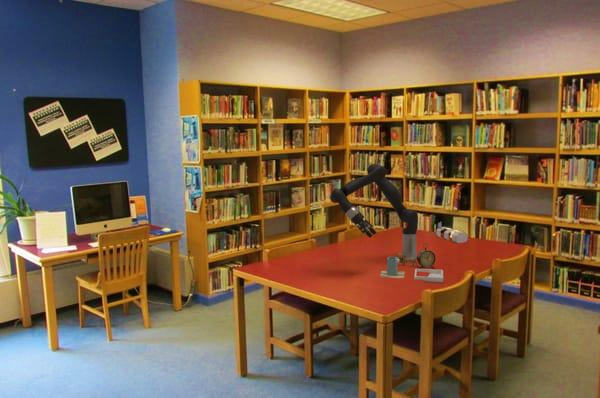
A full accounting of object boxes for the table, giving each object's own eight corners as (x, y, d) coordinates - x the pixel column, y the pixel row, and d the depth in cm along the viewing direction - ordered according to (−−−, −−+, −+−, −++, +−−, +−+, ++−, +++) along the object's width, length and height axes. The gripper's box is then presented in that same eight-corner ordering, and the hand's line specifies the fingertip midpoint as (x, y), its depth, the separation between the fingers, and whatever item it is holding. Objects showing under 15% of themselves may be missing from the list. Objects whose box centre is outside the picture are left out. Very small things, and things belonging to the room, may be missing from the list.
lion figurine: (395, 268, 314) (395, 254, 313) (397, 265, 319) (397, 252, 317) (418, 269, 308) (418, 255, 307) (420, 267, 313) (420, 253, 312)
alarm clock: (420, 270, 306) (420, 245, 304) (415, 268, 312) (415, 243, 309) (435, 268, 309) (435, 243, 307) (431, 266, 314) (431, 241, 312)
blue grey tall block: (389, 272, 299) (389, 256, 298) (400, 273, 297) (400, 257, 295) (387, 274, 295) (387, 258, 293) (398, 275, 292) (397, 259, 291)
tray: (415, 273, 301) (415, 268, 300) (442, 274, 296) (442, 269, 296) (414, 281, 285) (414, 276, 285) (443, 283, 281) (443, 277, 281)
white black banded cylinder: (436, 237, 396) (436, 221, 394) (447, 235, 399) (447, 219, 397) (456, 243, 372) (456, 226, 370) (467, 242, 376) (467, 225, 374)
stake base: (381, 272, 305) (381, 257, 303) (405, 273, 301) (405, 258, 300) (379, 279, 291) (379, 263, 290) (403, 280, 288) (403, 264, 286)
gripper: (355, 213, 293) (374, 233, 290) (362, 209, 306) (380, 228, 303) (346, 221, 296) (365, 241, 293) (354, 217, 309) (372, 236, 306)
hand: (373, 235), depth 298 cm, fingers open, 8 cm apart
